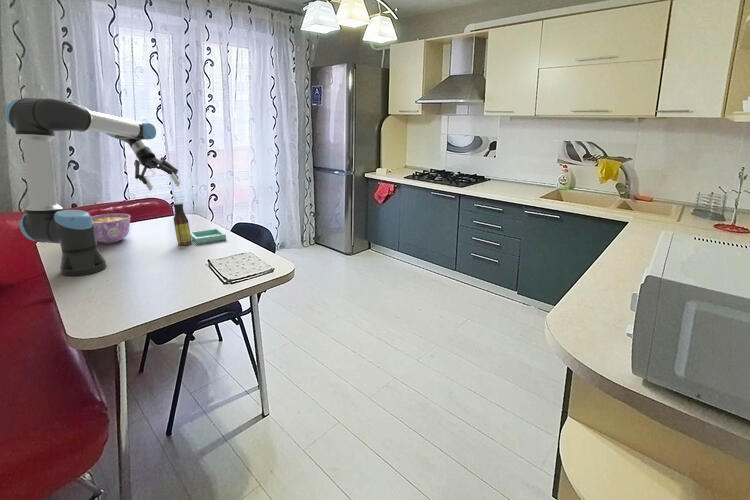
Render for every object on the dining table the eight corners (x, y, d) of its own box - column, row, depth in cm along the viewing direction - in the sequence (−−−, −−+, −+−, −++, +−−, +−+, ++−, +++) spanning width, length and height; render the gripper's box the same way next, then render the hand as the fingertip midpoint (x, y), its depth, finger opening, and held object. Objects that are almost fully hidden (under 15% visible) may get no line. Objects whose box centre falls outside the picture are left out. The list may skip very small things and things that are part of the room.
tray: (226, 240, 210) (225, 234, 209) (196, 244, 202) (195, 238, 201) (218, 233, 221) (217, 228, 220) (189, 238, 213) (189, 232, 212)
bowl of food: (119, 247, 197) (114, 223, 194) (76, 246, 198) (71, 222, 194) (142, 235, 216) (138, 213, 213) (103, 235, 217) (99, 213, 213)
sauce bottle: (194, 242, 206) (189, 202, 200) (187, 246, 200) (182, 204, 194) (181, 242, 206) (176, 201, 200) (174, 246, 200) (168, 204, 194)
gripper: (166, 155, 217) (187, 187, 213) (114, 160, 197) (136, 195, 194) (170, 145, 212) (191, 178, 209) (118, 148, 193) (140, 185, 189)
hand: (165, 186), depth 201 cm, fingers open, 13 cm apart
